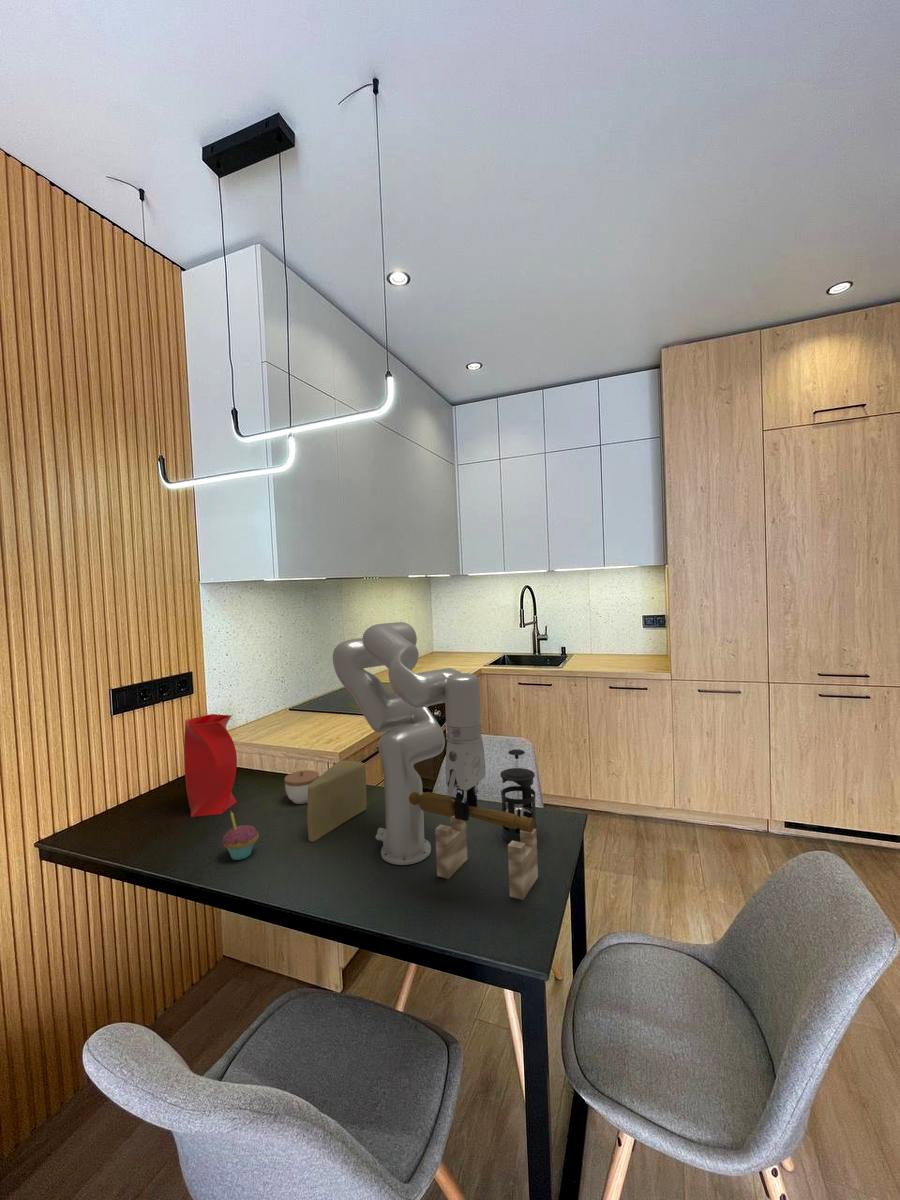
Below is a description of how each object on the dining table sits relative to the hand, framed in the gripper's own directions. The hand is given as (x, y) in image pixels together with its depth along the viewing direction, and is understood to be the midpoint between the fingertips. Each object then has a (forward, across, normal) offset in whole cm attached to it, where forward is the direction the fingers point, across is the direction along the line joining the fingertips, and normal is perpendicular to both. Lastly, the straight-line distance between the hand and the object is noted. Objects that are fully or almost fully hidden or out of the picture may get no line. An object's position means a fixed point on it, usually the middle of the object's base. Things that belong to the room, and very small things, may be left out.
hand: (466, 814), depth 110 cm
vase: (+18, +1, +94) cm, 96 cm away
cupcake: (+18, -13, +59) cm, 63 cm away
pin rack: (+17, +7, -1) cm, 18 cm away
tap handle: (+1, 0, 0) cm, 1 cm away
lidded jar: (+18, +19, +71) cm, 76 cm away
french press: (+17, +27, 0) cm, 32 cm away
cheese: (+18, +11, +50) cm, 54 cm away
